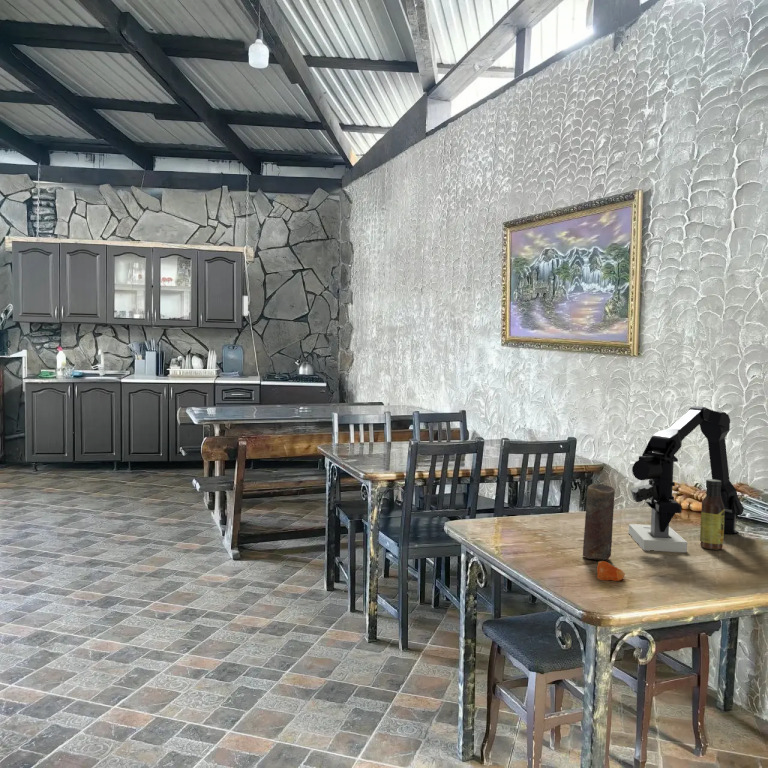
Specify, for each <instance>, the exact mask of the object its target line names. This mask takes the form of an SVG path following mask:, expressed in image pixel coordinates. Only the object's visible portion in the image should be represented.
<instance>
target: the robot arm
mask: <svg viewBox="0 0 768 768" xmlns="http://www.w3.org/2000/svg"><path fill="white" fill-rule="evenodd" d="M698 426H699V428H700V431H701V433H702V434H703V436H704V438H706V440H707V444H708V445H707V447H708V454H709V455H708V456H709V464H710V473H711V479H714V480H720V481H721V490H720V494H721V498H722V501H723V504H724V508H725V513H724V534H732V533H734V534H736V535H737V533H739V534H740V532H739V531H738V530H736V516H742V515H743V513H744V509H745V508H744V506H743V504H742V503H741V500H740V499H739V496H738V491H737V489H736V487H735V486H734V485H733V484H732V482H731V481H730V472H729V463H728V453H727V444H726V443H727V442H726V437H727V435H728V434H729V431H730V428H731V418H730V415H729V414H728V413H727V412H726V411H725V412H724V411H718V410H716V411H715V410H712V409H710V408H709V407H705V406H696V405H695V406H694V405H693V406H690V407H689V409H688V411H687V412H686V413H685V414H684V415H683V416H681V417H680V418H679V419H678V420H677V421H675V422H674V423H673V424H672V425H671V426H670V427H669V428H666V429H662V430H659V431H657V432H656V433H654V434H652V436H651V437H650V439H649V441H648V442H647V444H646V447H645V449H644V451H642V452H643V453H642V455H640V456H638V460H637V461H635V462H634V463H633V465H632V467H631V470H632V475H633V476H634V477H635V478H636V480H638V481H647V480H648V484H643V485H640V486H636V487H633V488H630V492H631V496H632V499H633V500H634V501H635V502H636V503H641V502H643V501H646V502H645V503H646V505H647V506H649V507H650V508H651V509H652V508H653V509H654V510H655V511H656V512H657V513H658V519H659V528H660V532H664V531H665V530H666V528H667V526H668V524H669V525H670V523H671V521H672V519H673V518H674V516H675V515H676V514H681V513H682V509H683V506H682V505H681V504H680V503H679V502H678V501H676V500H675V496H674V495H673V487H675V486H676V483H675V482H674V463H675V462H676V463H677V462H678V461H679V459H678V458H677V456H675V455H676V454H677V453H678V452H679V450H681V447H682V446H683V445H682V441H683V440H684V439H685V438H686V437H687V436H688V435H689V434H691V433H692V432H693V431H694V430H695V429H696V428H697V427H698ZM706 492H707V489H706V491H705V493H706ZM647 500H648V501H647Z"/></svg>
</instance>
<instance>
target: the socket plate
mask: <svg viewBox="0 0 768 768" xmlns="http://www.w3.org/2000/svg"><path fill="white" fill-rule="evenodd" d="M650 533H651V524H639V523H637V524H636V523H629V524H628V533H627V534H628V535H629V534H630V535H631V536H632V537H633V538H632V537H631V536H630V535H629V536H630V537H631V538H632V539H633V540H634V542H636V544H637V543H638V544H639V545H638V544H637V545H638V546H639V547H640V548H641V550H643V551H650V550H654V552H671V553H687V552H688V541H687V540H685V539H684V538H683V537H682V536H681V535H680V534H679V533H677V532H676V531H675V530H674V529H673V528H672V527H671V526H669V536H668V538H655V537H652V536H651V535H650Z"/></svg>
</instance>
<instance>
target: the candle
mask: <svg viewBox="0 0 768 768" xmlns="http://www.w3.org/2000/svg"><path fill="white" fill-rule="evenodd" d="M586 489H587V490H586V504H585V516H584V517H585V519H584V522H585V523H584V530H583V531H584V533H583V544H582V556H583V557H585V559H590V560H595V561H605V560H608V559H609V558H611V556H612V542H613V525H614V524H613V523H614V522H613V520H614V512H615V511H614V508H615V507H614V506H615V493H616V490H615V488H614V487H613V486H611V485H608V484H601V483H597V484H596V483H591V484H590V485H588V486H587V488H586Z"/></svg>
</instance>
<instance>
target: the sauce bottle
mask: <svg viewBox="0 0 768 768" xmlns="http://www.w3.org/2000/svg"><path fill="white" fill-rule="evenodd" d="M705 485H706V490H707V492H706V491H705V497H704V498H703V499H702V501H701V511H700V530H699V532H700V534H699V535H700V536H699V538H700V539H699V541H700V546H701V547H702V548H704V549H706V550H712V551H713V550H715V551H719V550H722V549H723V546H724V545H723V544H724V538H725V537H724V536H725V535H724V534H725V533H724V513H725V508H724V504H723V501H722V498H721V494H720V490H721V481H720V480H714V479H712V478H710V479H706V480H705Z"/></svg>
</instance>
